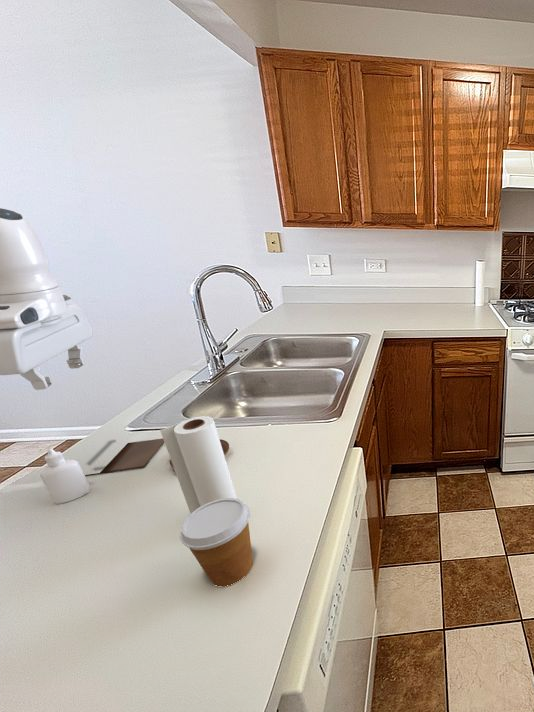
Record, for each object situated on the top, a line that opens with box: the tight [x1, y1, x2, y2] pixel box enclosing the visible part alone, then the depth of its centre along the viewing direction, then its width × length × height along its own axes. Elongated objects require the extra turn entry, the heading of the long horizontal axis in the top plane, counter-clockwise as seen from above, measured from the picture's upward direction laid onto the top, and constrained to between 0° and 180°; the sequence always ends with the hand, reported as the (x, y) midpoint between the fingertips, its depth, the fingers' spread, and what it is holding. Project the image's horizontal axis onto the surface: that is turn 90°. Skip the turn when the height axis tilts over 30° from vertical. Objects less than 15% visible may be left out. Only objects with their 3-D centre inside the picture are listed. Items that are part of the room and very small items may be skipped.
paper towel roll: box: [159, 415, 238, 514], centre depth 75 cm, size 7×6×21 cm
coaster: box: [84, 437, 165, 477], centre depth 97 cm, size 12×12×1 cm
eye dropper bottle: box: [39, 447, 91, 505], centre depth 82 cm, size 4×6×12 cm
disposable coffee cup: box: [179, 498, 254, 587], centre depth 65 cm, size 10×10×12 cm
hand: (61, 376), depth 75 cm, fingers open, 8 cm apart
